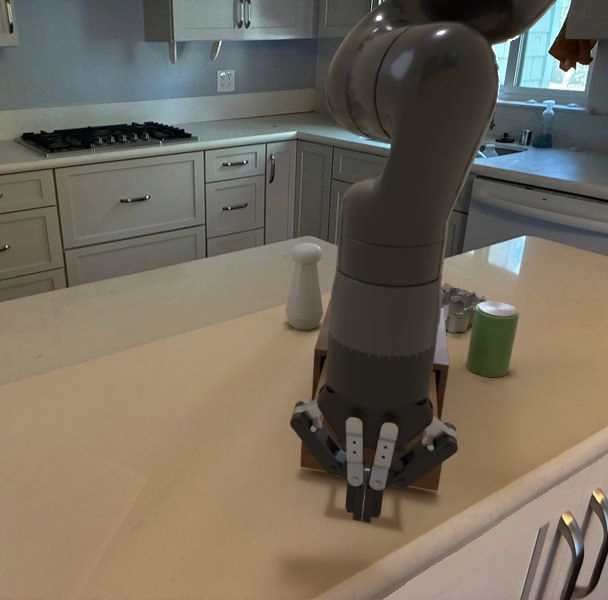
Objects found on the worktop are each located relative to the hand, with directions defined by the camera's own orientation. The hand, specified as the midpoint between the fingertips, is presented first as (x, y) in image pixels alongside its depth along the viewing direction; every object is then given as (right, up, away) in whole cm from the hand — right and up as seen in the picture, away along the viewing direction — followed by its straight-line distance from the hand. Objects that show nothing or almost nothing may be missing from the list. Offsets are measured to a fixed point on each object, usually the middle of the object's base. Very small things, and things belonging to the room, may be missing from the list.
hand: (362, 514), depth 51 cm
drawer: (+4, +2, +15) cm, 16 cm away
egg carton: (+26, +15, +46) cm, 55 cm away
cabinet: (+9, +7, +28) cm, 30 cm away
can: (+25, +9, +32) cm, 41 cm away
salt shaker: (+2, +14, +45) cm, 48 cm away
